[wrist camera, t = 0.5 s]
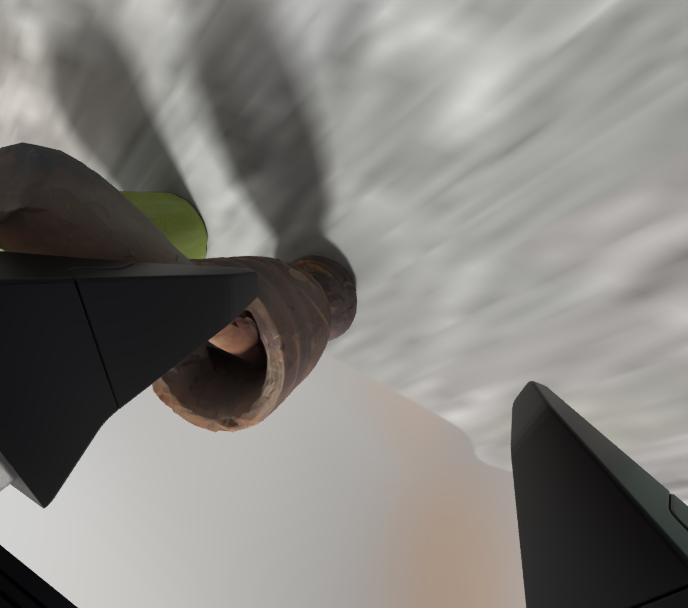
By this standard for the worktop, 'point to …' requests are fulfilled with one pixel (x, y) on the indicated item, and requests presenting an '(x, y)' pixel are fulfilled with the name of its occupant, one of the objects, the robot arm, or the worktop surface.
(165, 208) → the plant pot
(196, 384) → the mortar and pestle
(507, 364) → the worktop surface
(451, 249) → the worktop surface
